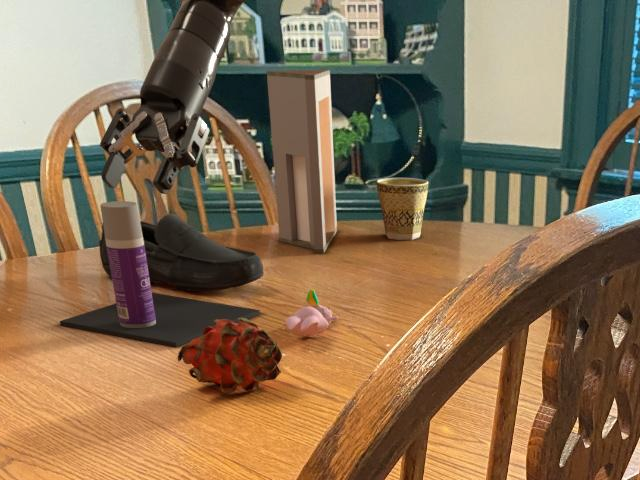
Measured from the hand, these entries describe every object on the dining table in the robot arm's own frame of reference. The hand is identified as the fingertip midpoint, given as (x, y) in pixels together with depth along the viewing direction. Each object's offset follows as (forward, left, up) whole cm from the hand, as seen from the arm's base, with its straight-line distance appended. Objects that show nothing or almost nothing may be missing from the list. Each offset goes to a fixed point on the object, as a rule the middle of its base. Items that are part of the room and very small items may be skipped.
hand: (133, 186), depth 116 cm
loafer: (-11, +19, -17) cm, 28 cm away
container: (0, -3, -17) cm, 17 cm away
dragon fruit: (+26, -16, -17) cm, 35 cm away
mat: (0, +2, -17) cm, 17 cm away
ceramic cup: (+1, +72, -17) cm, 74 cm away
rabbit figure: (+22, +6, -17) cm, 29 cm away
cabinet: (-13, +57, -17) cm, 61 cm away
